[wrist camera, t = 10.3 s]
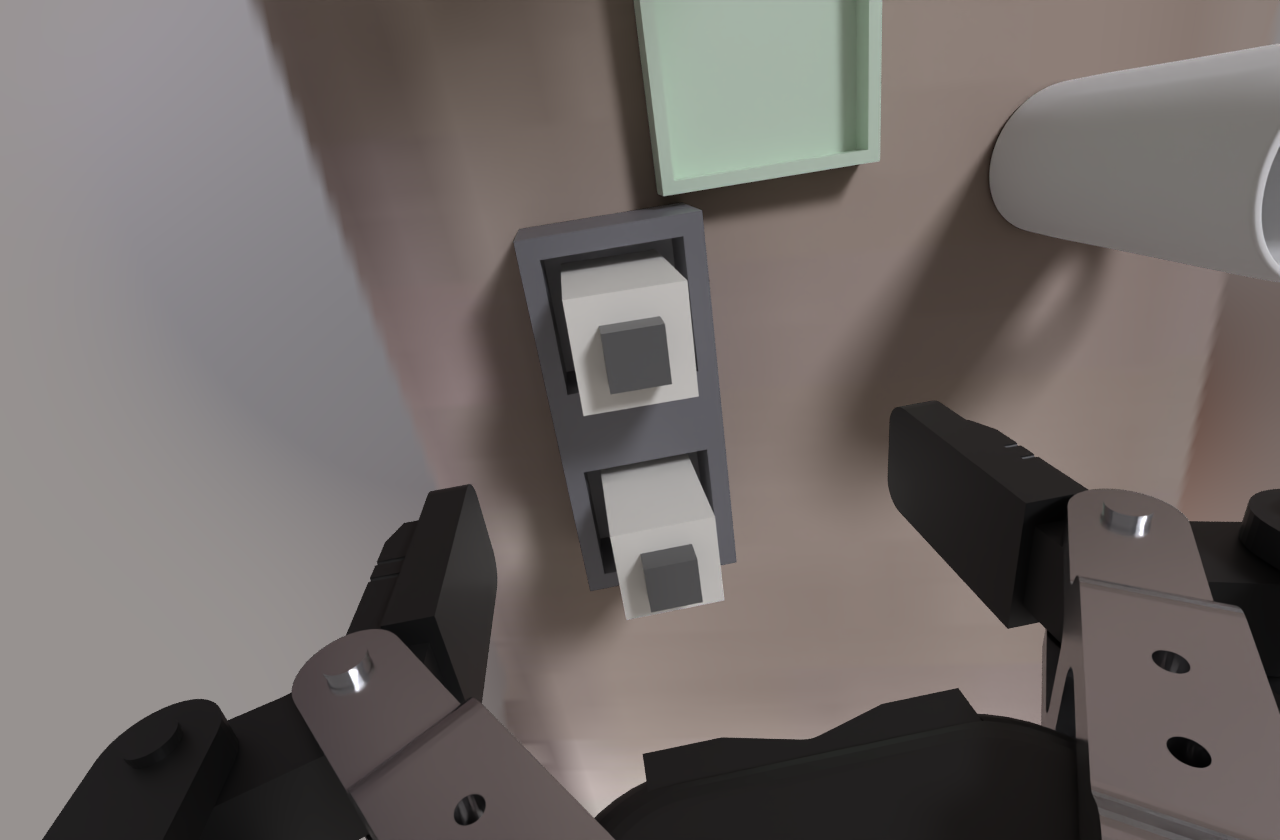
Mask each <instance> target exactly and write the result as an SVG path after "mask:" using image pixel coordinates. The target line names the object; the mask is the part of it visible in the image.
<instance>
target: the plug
mask: <svg viewBox="0 0 1280 840" xmlns="http://www.w3.org/2000/svg"><path fill="white" fill-rule="evenodd" d="M560 266H561V285H562V302H563V307H564V312H565V318H566V323H567V329H568V334H569V340H570V345H571V351H572V356H573V361H574V367H575V372H576V378H577V383H578V389H579V394H580V399H581V405H582V410H583V416H587V415H593V414H599V413H605V412H611V411H617V410H622V409H628V408H634V407H640V406H646V405H652V404H658V403H663V402H669V401H675V400H681V399H687V398H693V397H699V393H698V383H697V373H696V363H695V353H694V342H693V332H692V322H691V312H690V302H689V292H688V282H687V280H686V279H685V278H684V277H683V276H682V275H681V274H680V273H679V272H678V271H677V270H676V269H675V268H674V267H673V266H672V265H671V264H670V263H669V262H668V261H667V260H666V259H665V258H664V257H663V256H662V255H661V254H660V253H658V252H657V251H656V250H655V249H652V250H646V251H639V252H633V253H627V254H620V255H614V256H607V257H601V258H594V259H588V260H581V261H575V262H569V263H562V264H560Z"/></svg>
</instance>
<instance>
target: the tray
mask: <svg viewBox="0 0 1280 840" xmlns="http://www.w3.org/2000/svg"><path fill="white" fill-rule="evenodd" d="M633 1H634V10H635V18H636V26H637V34H638V42H639V50H640V58H641V66H642V74H643V82H644V90H645V98H646V106H647V114H648V122H649V130H650V138H651V146H652V154H653V162H654V170H655V178H656V186H657V194H659V195H661V196H668V195H675V194H681V193H687V192H693V191H699V190H705V189H711V188H718V187H724V186H730V185H736V184H742V183H748V182H754V181H760V180H767V179H773V178H779V177H785V176H791V175H797V174H803V173H809V172H816V171H822V170H828V169H834V168H840V167H846V166H852V165H858V164H865V163H871V162H877V161H880V122H881V48H882V0H633Z"/></svg>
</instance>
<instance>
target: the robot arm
mask: <svg viewBox="0 0 1280 840" xmlns="http://www.w3.org/2000/svg"><path fill="white" fill-rule="evenodd" d="M888 487H889V491H890V495H891V498H892V500H893V503H894V505H895V506H896V508H897V509H898V511H899V512H900V513H901V514H902V515H903V516H904V517H905V518H906V519H907V520H908V522H909V523H910V524H911V525H912V526H913V527H914V528H915V529H916V530H917V531H918V532H919V533H920V534H921V536H922V537H923V538H924V539H925V540H926V541H927V542H928V543H929V544H930V545H931V546H932V547H933V549H934V550H935V551H936V552H937V553H938V554H939V555H940V556H941V557H942V558H943V559H944V560H945V561H946V563H947V564H948V565H949V566H950V567H951V568H952V569H953V570H954V571H955V572H956V573H957V574H958V576H959V577H960V578H961V579H962V580H963V581H964V582H965V583H966V584H967V585H968V586H969V587H970V588H971V590H972V591H973V592H974V593H975V594H976V595H977V596H978V597H979V598H980V599H981V600H982V601H983V603H984V604H985V605H986V606H987V607H988V608H989V609H990V610H991V611H992V612H993V613H994V614H995V615H996V617H997V618H998V619H999V620H1000V621H1001V622H1002V623H1003V624H1004V625H1005V626H1006V627H1007V628H1008V629H1009V628H1014V627H1018V626H1023V625H1028V624H1033V623H1038V622H1040V623H1041V624H1042V625H1043V626H1044V627H1045V628H1046V629H1045V635H1044V640H1043V646H1042V705H1041V725H1038V724H1034V723H1031V722H1028V721H1023V720H1019V719H1014V718H1010V717H1003V716H996V715H988V714H977V713H976V712H975V710H974V709H973V708H972V706H971V705H970V704H969V702H968V701H967V699H966V698H965V697H964V695H963V694H962V693H961V691H960V690H959V689H958V688H956V689H952V690H947V691H942V692H937V693H932V694H928V695H923V696H918V697H913V698H909V699H904V700H899V701H894V702H889V703H885V704H881V705H879V706H877V707H875V708H873V709H871V710H869V711H867V712H865V713H863V714H861V715H859V716H857V717H855V718H853V719H852V720H850V721H848V722H846V723H844V724H842V725H840V726H838V727H836V728H834V729H832V730H830V731H828V732H826V733H824V734H822V735H820V736H817V737H815V738H812V739H805V740H795V739H758V738H717V739H712V740H708V741H703V742H698V743H693V744H689V745H684V746H679V747H674V748H669V749H665V750H660V751H655V752H650V753H645V754H643V759H644V766H645V773H646V780H647V781H646V782H644V783H642V784H640V785H638V786H636V787H634V788H633V789H631V790H629V791H628V792H626V793H625V794H623V795H622V796H620V797H619V798H617V799H616V800H614V801H613V802H612V803H611V804H610V805H608V806H607V807H606V808H605V809H604V810H602V811H601V812H600V813H599V814H598V815H597V816H596V817H595V818H593V817H592V816H591V815H590V814H589V813H588V812H587V810H586V809H585V808H584V807H583V806H582V805H581V804H580V803H579V802H578V801H577V800H576V799H575V798H574V797H573V796H572V795H571V794H570V793H569V792H568V791H567V790H566V789H565V788H564V787H563V786H562V785H561V784H560V783H559V782H558V781H557V780H556V779H555V778H554V777H553V776H552V775H551V774H550V773H549V772H548V771H547V770H546V769H545V768H544V767H543V766H542V765H541V764H540V762H539V761H538V760H537V759H536V758H535V757H534V756H533V755H532V754H531V753H530V752H529V751H528V750H527V749H526V748H525V747H524V746H523V745H522V744H521V743H520V742H519V741H518V740H517V739H516V738H515V737H514V736H513V735H512V734H511V733H510V732H509V731H508V730H507V729H506V728H505V727H504V726H503V725H502V724H501V723H500V722H499V721H498V720H497V719H496V718H495V717H494V716H493V715H492V713H491V712H489V710H488V709H486V707H485V706H484V705H483V704H482V697H483V689H484V682H485V675H486V667H487V659H488V652H489V644H490V636H491V629H492V621H493V613H494V606H495V598H496V590H497V569H496V562H495V557H494V552H493V549H492V545H491V542H490V539H489V535H488V532H487V528H486V525H485V522H484V518H483V515H482V511H481V508H480V504H479V501H478V498H477V495H476V492H475V490H474V488H473V486H472V485H471V484H468V485H462V486H457V487H451V488H446V489H441V490H435V491H430V492H429V494H428V496H427V498H426V501H425V504H424V507H423V510H422V513H421V515H420V518H419V520H418V521H413V522H407V523H404V524H403V525H402V526H401V527H400V528H399V529H398V530H397V531H396V532H395V533H394V534H393V535H392V536H391V537H390V538H389V539H388V540H387V541H386V542H385V544H384V547H383V549H382V552H381V554H380V556H379V558H378V561H377V564H378V565H376V566H375V568H374V570H373V573H372V575H371V577H370V579H371V582H368V584H367V587H366V589H365V591H364V594H363V596H362V599H361V601H360V603H359V606H358V608H357V611H356V613H355V615H354V617H353V620H352V622H351V625H350V627H349V629H348V632H347V634H346V636H344V637H341V638H339V639H337V640H335V641H333V642H332V643H330V644H328V645H327V646H325V647H324V648H323V649H321V650H320V651H318V652H317V653H316V654H314V655H313V656H312V657H311V658H310V659H309V660H308V661H307V662H306V663H305V665H304V666H303V667H302V668H301V669H300V671H299V673H298V674H297V676H296V678H295V680H294V682H293V686H292V693H290V694H288V695H286V696H284V697H282V698H280V699H277V700H275V701H273V702H270V703H268V704H265V705H263V706H261V707H258V708H256V709H254V710H251V711H249V712H247V713H244V714H242V715H240V716H237V717H235V718H233V719H230V720H228V721H227V719H226V718H225V716H224V714H223V713H222V711H221V709H220V708H219V706H218V705H216V703H214V702H212V701H209V700H204V699H193V700H188V701H183V702H179V703H176V704H173V705H170V706H168V707H165V708H163V709H161V710H159V711H157V712H154V713H152V714H151V715H149V716H147V717H145V718H144V719H142V720H140V721H139V722H137V723H136V724H134V725H133V726H131V727H130V728H129V729H127V730H126V731H125V732H124V733H122V734H121V735H120V736H119V737H118V738H116V739H115V740H114V741H113V742H112V743H111V744H110V745H109V746H108V747H107V748H106V749H105V750H104V752H103V753H102V754H101V755H100V756H99V758H98V759H97V760H96V761H95V763H94V764H93V766H92V767H91V769H90V770H89V771H88V773H87V774H86V776H85V777H84V779H83V780H82V782H81V783H80V785H79V786H78V788H77V789H76V791H75V792H74V794H73V795H72V797H71V798H70V799H69V801H68V802H67V804H66V805H65V807H64V808H63V810H62V811H61V813H60V814H59V816H58V817H57V818H56V820H55V822H54V823H53V825H52V826H51V828H50V829H49V830H48V832H47V834H46V835H45V836H44V838H43V839H42V840H359V839H361V838H363V837H365V838H366V840H1280V489H1273V490H1266V491H1262V492H1259V493H1257V494H1255V495H1253V496H1252V497H1251V498H1250V500H1249V503H1248V506H1247V509H1246V512H1245V515H1244V518H1243V521H1242V522H1198V521H1188V519H1187V518H1186V517H1185V515H1184V514H1183V513H1181V512H1180V511H1179V510H1178V509H1176V508H1175V507H1173V506H1172V505H1170V504H1168V503H1166V502H1164V501H1162V500H1159V499H1157V498H1154V497H1151V496H1148V495H1145V494H1141V493H1137V492H1133V491H1127V490H1120V489H1092V490H1088V489H1086V488H1085V487H1083V486H1082V485H1080V484H1079V483H1077V482H1076V481H1074V480H1073V479H1071V478H1070V477H1068V476H1067V475H1065V474H1064V473H1062V472H1061V471H1059V470H1057V469H1056V468H1054V467H1053V466H1051V465H1050V464H1048V463H1047V462H1045V461H1044V460H1042V459H1041V458H1039V457H1034V454H1033V453H1032V452H1030V451H1028V450H1027V449H1025V448H1024V447H1022V446H1017V443H1016V442H1015V441H1013V440H1012V439H1010V438H1009V437H1007V436H1006V435H1004V434H1003V433H1001V432H1000V431H998V430H996V429H994V428H991V427H988V426H985V425H982V424H979V423H976V422H973V421H970V420H965V419H964V418H962V417H961V416H959V415H958V414H956V413H955V412H953V411H952V410H950V409H949V408H948V407H946V406H945V405H943V404H942V403H940V402H938V401H928V402H923V403H917V404H912V405H906V406H901V407H896V408H895V409H894V410H893V411H892V413H891V416H890V426H889V455H888Z"/></svg>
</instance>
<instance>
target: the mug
mask: <svg viewBox="0 0 1280 840" xmlns="http://www.w3.org/2000/svg"><path fill="white" fill-rule="evenodd" d="M989 183H990V190H991V195H992V198H993V201H994V203H995V206H996V207H997V209H998V211H999V212H1000V214H1001V215H1002V216H1003V217H1004V218H1005V219H1006V220H1007V221H1008V222H1009V223H1011V224H1012V225H1014V226H1016V227H1018V228H1020V229H1023V230H1026V231H1029V232H1034V233H1038V234H1042V235H1046V236H1051V237H1055V238H1059V239H1064V240H1069V241H1074V242H1079V243H1084V244H1090V245H1095V246H1100V247H1105V248H1110V249H1115V250H1120V251H1124V252H1129V253H1134V254H1139V255H1144V256H1149V257H1154V258H1158V259H1163V260H1168V261H1173V262H1178V263H1183V264H1188V265H1192V266H1197V267H1202V268H1207V269H1212V270H1217V271H1222V272H1226V273H1231V274H1236V275H1241V276H1247V277H1252V278H1257V279H1262V280H1268V281H1274V282H1280V43H1279V44H1273V45H1268V46H1262V47H1256V48H1250V49H1245V50H1239V51H1233V52H1227V53H1222V54H1216V55H1210V56H1204V57H1199V58H1193V59H1187V60H1181V61H1175V62H1169V63H1164V64H1158V65H1152V66H1146V67H1140V68H1134V69H1127V70H1121V71H1115V72H1109V73H1104V74H1098V75H1093V76H1088V77H1083V78H1078V79H1073V80H1068V81H1064V82H1060V83H1057V84H1054V85H1051V86H1049V87H1047V88H1045V89H1043V90H1041V91H1039V92H1037V93H1036V94H1034V95H1033V96H1032V97H1030V98H1029V99H1028V100H1026V101H1025V102H1024V103H1023V104H1022V105H1021V106H1020V107H1019V108H1018V109H1017V110H1016V111H1015V112H1014V114H1013V115H1012V116H1011V117H1010V119H1009V120H1008V122H1007V123H1006V125H1005V126H1004V128H1003V130H1002V131H1001V133H1000V135H999V137H998V140H997V142H996V145H995V147H994V150H993V154H992V158H991V163H990V171H989Z"/></svg>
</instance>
